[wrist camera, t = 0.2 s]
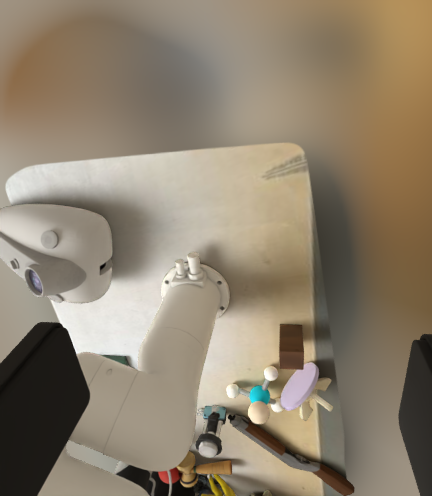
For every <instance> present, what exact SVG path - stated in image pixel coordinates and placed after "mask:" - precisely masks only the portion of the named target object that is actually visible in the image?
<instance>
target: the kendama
mask: <svg viewBox="0 0 432 496" xmlns="http://www.w3.org/2000/svg"><path fill="white" fill-rule="evenodd" d="M195 462H196V460H195V456H194V454H193V453H192V452H190V451H188V453H187V455H186V457H185V458H184V459H183V461H182V462H181V463H180V464H179V465H178V466H176V467H175V468H173V469H170V473H171V478H172V483H175V482H177V481H178V480H179V479H180V482H181V484H182V485H183V486H184V487H192V486H193V485H195V484H196V482H197V480H198V474H197V473H201V474H227V475H231V474H232V464H231V460H228V461H222V462H214V463H206V464H201V465H197V466H194V465H195ZM158 473H159V477H160V479H161V480H162V481H163V482H165V483H167V484H169V476H168V472H167V471H158Z"/></svg>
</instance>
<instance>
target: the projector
mask: <svg viewBox="0 0 432 496" xmlns="http://www.w3.org/2000/svg"><path fill="white" fill-rule="evenodd" d="M111 257H112V235H111V230H110V226H109V224H108V222H107V221H106V219H105V218H104V217H102V216H101V215H99V214H97V213H95V212H92V211H88V210H84V209H80V208H74V207H68V206H62V205H53V204H20V205H12V206H7V207H3V208H0V258H1V259H2V260H3V261H4V262H5V263H6V264H7V265H8V266H9V267H10V268H11V269H12V270H13V271H15V272H16V273H17V274H18V275H19V276H20V277H22V278H23V279H24V280H25V281H26V284H27V286H28V288H29V289H30V291H31V292H32V293H33V294H34V295H35V296H37V297H45V296H48V297H49V298H50V299H51V300H53V301H55V302H59V303H61V302H62V301H66V302H70V303H89V302H93V301H95V300H97V299H99V298H101V297H102V296H103V295H104V294H105V293H106V292H107V290H108V289H109V287H110V284H111V279H112V261H111V259H110V258H111Z"/></svg>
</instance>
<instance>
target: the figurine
mask: <svg viewBox="0 0 432 496" xmlns="http://www.w3.org/2000/svg"><path fill="white" fill-rule="evenodd" d="M213 475H214V477H215V479H216V480H217V481H218V483H219V484H220V485H221V487H222V490H223V492H224V494H225V495H226V496H236V495H235V493H234V491H233V490H232V489H231V488H230V487H229V486H228V485H227V484H226V482H225V481H224V480H223V479H222V478H221V477H220V476H219V475H218V474H213ZM207 478H208V479H209V482H210V485H211V489H212V491H213V493H214V494H215V495H212V494H209V495H206V494H201V496H223V494H222V492H221V491H220V490H219V489H218V488H217V487H216V485H215V484H214V481H213V478H212V476H211V474H208V475H207Z"/></svg>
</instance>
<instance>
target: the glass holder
mask: <svg viewBox="0 0 432 496" xmlns="http://www.w3.org/2000/svg"><path fill="white" fill-rule="evenodd" d="M167 472H168V476H169V484H170V487H169V496H171V492H172V478H171V473H170V470H167ZM114 474H115V475H118V476H120V477H123V478H125V479H127V480H129V481H131V482H133V483H135V484H137V485H139V486H140V487H142V488H143V489H144V490H145V491H146V488H147V484H148V481H149V480H151V481H152V482H153V488H152V493H151V496H154V489H155V480H154V479H153V478H151V474H152V471H149V470H144V469H141V468H138V467H135V466H132V465H129V464H127V463H124V462H122V461H119V462H118V464H117V467H116V470H115V472H114Z"/></svg>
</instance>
